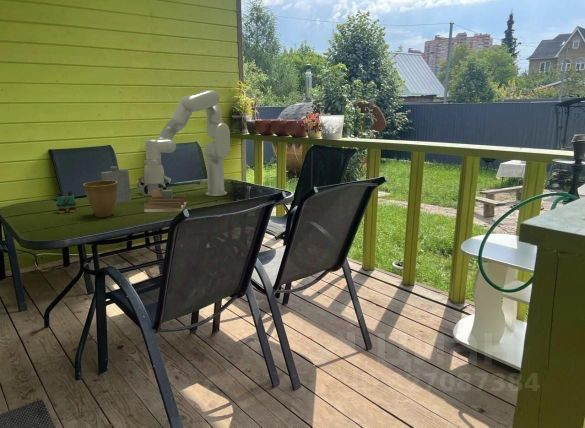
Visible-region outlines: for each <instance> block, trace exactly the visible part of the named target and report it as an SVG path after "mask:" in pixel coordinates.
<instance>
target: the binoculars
mask: <svg viewBox="0 0 585 428" xmlns="http://www.w3.org/2000/svg"><path fill="white" fill-rule="evenodd" d="M76 206H77V202H76V200H75V195H74V194H73V190H71V191H68V192H67V195H66V196H64V195H63V192H60V191H59V192H58V191H57V196H56V208H57V209H58V213H59V214H65V213H66V211H67V210H66V209H68V212H69V213H75V212H76V209H77V207H76Z"/></svg>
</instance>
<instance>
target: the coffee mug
mask: <svg viewBox="0 0 585 428" xmlns="http://www.w3.org/2000/svg"><path fill="white" fill-rule="evenodd" d="M142 182H144V179H142ZM144 183H145V182H144ZM139 184H140V182H139V180H137V181H136V182H135V186H136V189H137V190H139V191H140V192H141V195H142V196H146V195H150V196H152V192H151V191H152V190H159V188H160V187H159V184H148V185H147V187H148V194H145V193H144V187H143V186H142V185H141V184H140V186H139Z"/></svg>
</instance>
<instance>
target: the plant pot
mask: <svg viewBox="0 0 585 428" xmlns="http://www.w3.org/2000/svg"><path fill="white" fill-rule="evenodd" d="M82 186H83V189H84V193H85V195H86V198H87V200H88V203H89V205H90V208H91V210H92V212H93V213H94V215H95V216H96V217H97V218H105V217H110V216H113V214H114V210H115V208H116V207H115V205H116V204H115V202H116V194H117V181H111V180H105V181H102V180H95V181H89V182H85V183H83V185H82Z"/></svg>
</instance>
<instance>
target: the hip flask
mask: <svg viewBox="0 0 585 428" xmlns="http://www.w3.org/2000/svg"><path fill="white" fill-rule="evenodd" d="M109 167H110V171H109V170H108V171H102V172H100V176H101V181H105V180H111V181H117V194H116V202H115V205H117V204H120V203H125V202H132V195H131V184H130V173H129V172H130V171H129V169H128V168H127V169H122V168H121V169H118V166H117V165H116V166H113V165H112V166H109Z"/></svg>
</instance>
